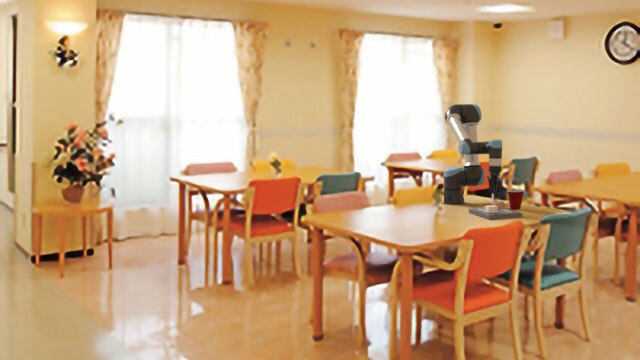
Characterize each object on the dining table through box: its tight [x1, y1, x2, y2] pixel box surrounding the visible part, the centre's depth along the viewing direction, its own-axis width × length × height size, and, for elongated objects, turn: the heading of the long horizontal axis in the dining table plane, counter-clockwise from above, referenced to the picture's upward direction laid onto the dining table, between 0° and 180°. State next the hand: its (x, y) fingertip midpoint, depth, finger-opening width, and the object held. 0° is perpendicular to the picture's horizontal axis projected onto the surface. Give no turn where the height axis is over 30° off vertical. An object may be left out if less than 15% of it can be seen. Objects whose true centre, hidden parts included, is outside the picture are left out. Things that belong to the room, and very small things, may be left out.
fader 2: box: [491, 200, 505, 208], centre depth 388 cm, size 4×6×4 cm, turn 108°
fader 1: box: [484, 204, 498, 213], centre depth 373 cm, size 4×6×4 cm, turn 108°
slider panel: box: [468, 207, 523, 220], centre depth 381 cm, size 22×22×3 cm
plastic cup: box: [506, 189, 525, 211], centre depth 398 cm, size 11×11×12 cm
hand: (494, 204), depth 391 cm, fingers closed
